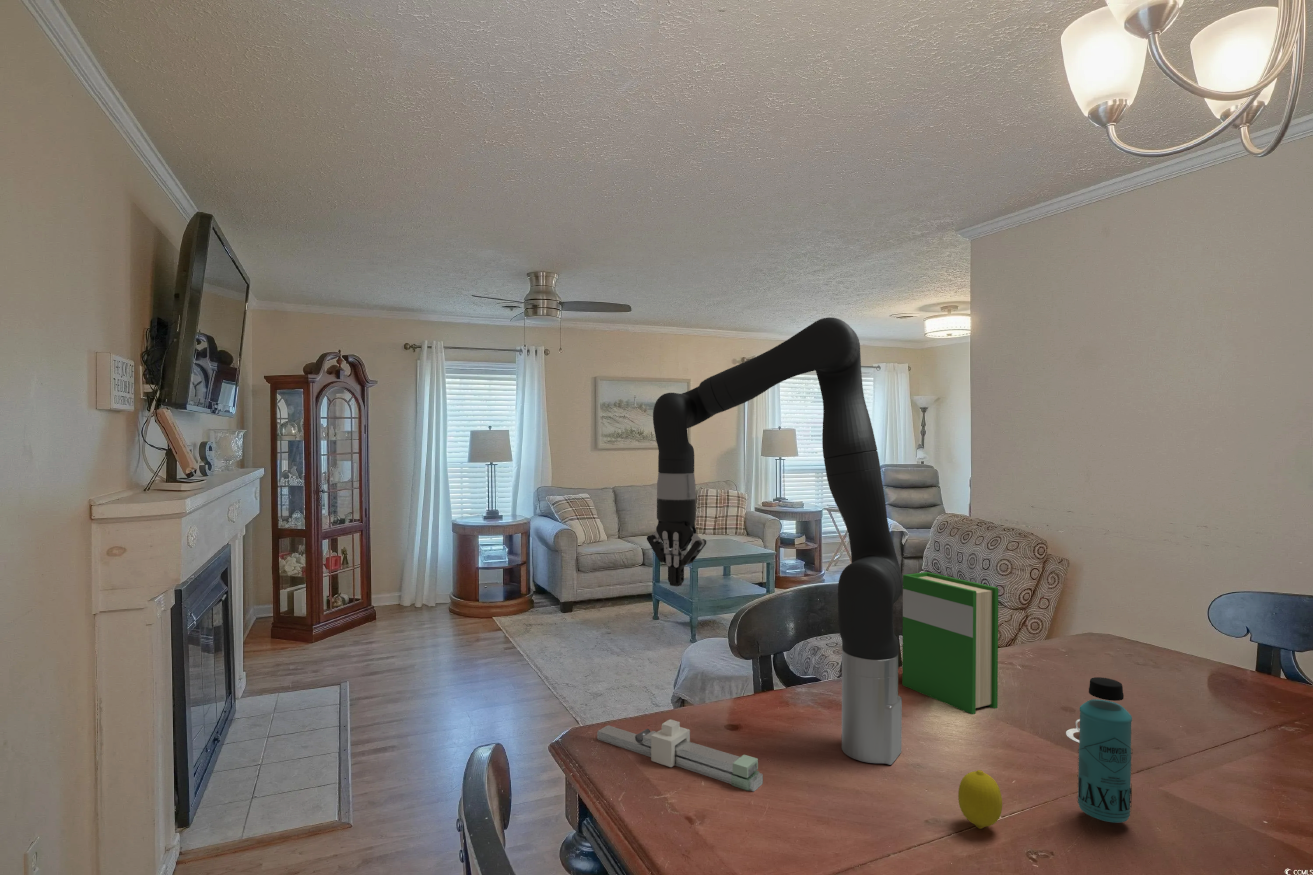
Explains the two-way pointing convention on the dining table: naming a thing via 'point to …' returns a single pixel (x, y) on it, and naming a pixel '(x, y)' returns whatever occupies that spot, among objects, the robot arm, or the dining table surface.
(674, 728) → the lock slider
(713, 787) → the dining table surface
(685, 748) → the bar
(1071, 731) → the teacup and saucer
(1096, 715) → the beverage bottle
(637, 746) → the base
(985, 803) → the lemon
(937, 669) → the hardback book
